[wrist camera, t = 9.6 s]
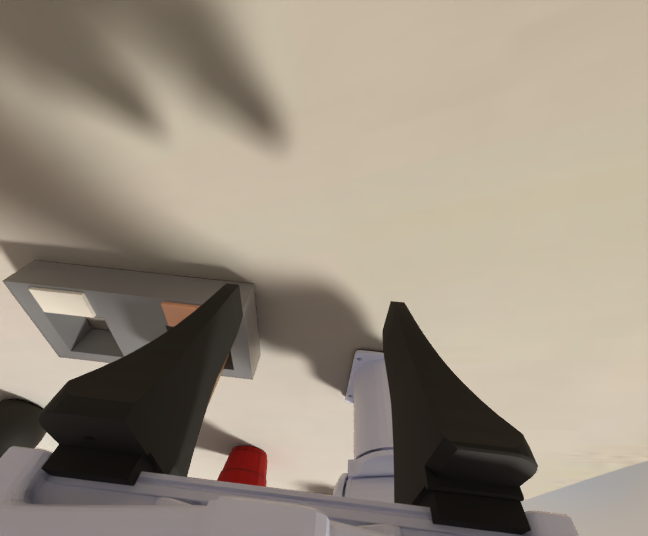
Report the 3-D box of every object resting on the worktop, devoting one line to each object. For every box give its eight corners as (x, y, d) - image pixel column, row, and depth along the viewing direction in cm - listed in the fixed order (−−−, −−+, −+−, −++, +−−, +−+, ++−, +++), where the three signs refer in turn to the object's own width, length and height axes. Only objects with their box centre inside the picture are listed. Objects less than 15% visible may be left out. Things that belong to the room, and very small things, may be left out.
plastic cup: (283, 470, 50) (267, 569, 41) (221, 462, 50) (190, 559, 41) (284, 442, 44) (265, 552, 34) (213, 433, 44) (174, 540, 34)
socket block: (260, 354, 32) (251, 382, 29) (81, 334, 32) (56, 359, 29) (254, 284, 26) (242, 310, 23) (34, 260, 26) (-2, 283, 24)
